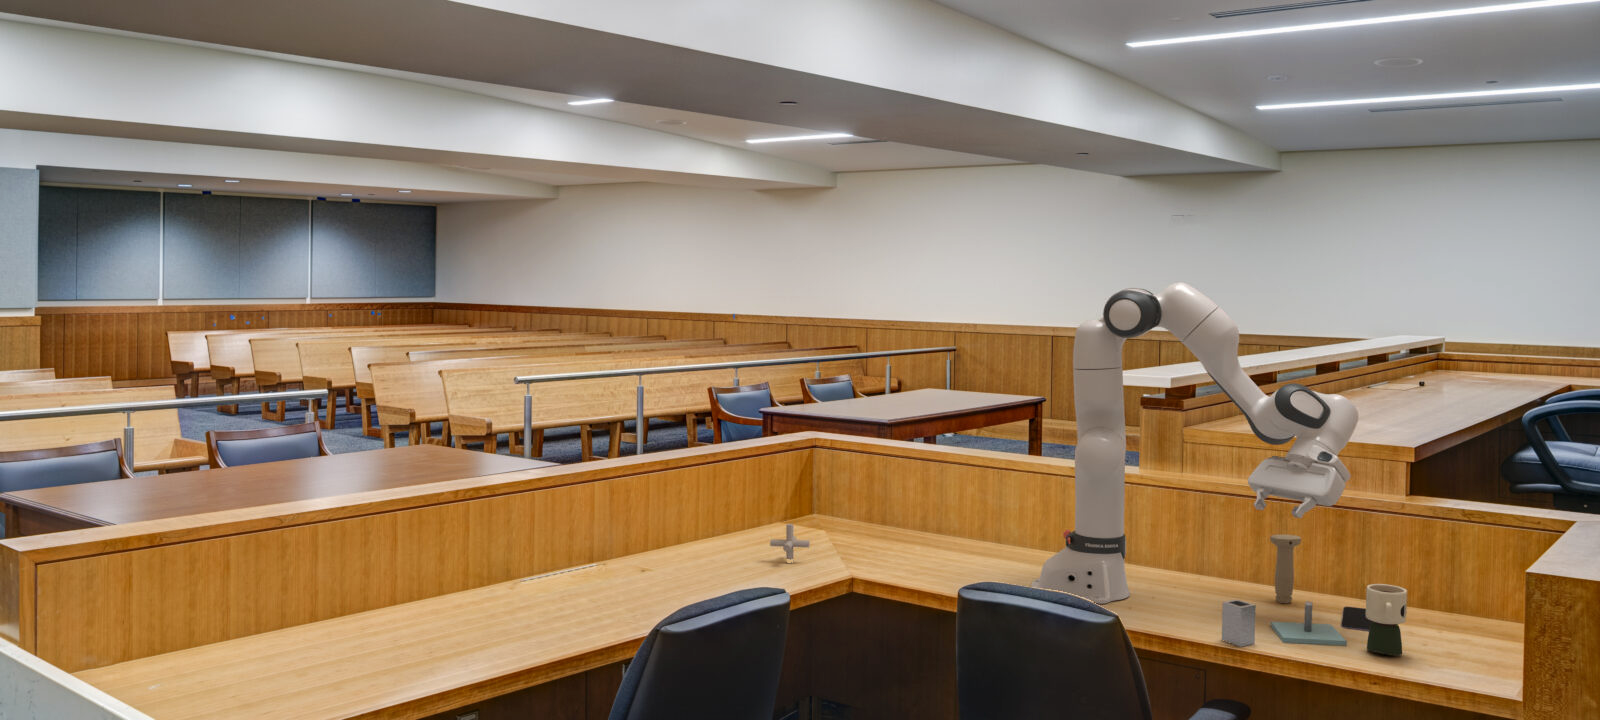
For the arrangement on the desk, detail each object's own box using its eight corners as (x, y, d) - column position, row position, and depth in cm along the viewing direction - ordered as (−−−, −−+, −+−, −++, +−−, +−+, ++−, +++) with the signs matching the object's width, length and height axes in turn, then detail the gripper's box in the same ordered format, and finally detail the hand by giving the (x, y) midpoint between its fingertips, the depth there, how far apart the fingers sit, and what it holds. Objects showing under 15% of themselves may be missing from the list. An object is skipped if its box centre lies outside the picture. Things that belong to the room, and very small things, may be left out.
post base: (1283, 642, 232) (1284, 608, 232) (1270, 626, 243) (1271, 593, 242) (1346, 645, 230) (1347, 611, 229) (1331, 629, 241) (1332, 596, 240)
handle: (1302, 604, 259) (1304, 539, 257) (1274, 605, 258) (1276, 539, 257) (1292, 598, 263) (1294, 534, 262) (1264, 599, 263) (1266, 534, 262)
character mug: (1408, 664, 219) (1410, 597, 218) (1366, 659, 222) (1369, 593, 221) (1401, 647, 229) (1403, 583, 228) (1361, 642, 232) (1364, 579, 231)
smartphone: (1340, 626, 242) (1343, 606, 255) (1340, 631, 242) (1343, 610, 255) (1379, 631, 238) (1380, 610, 252) (1379, 636, 239) (1380, 615, 252)
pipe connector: (806, 568, 290) (806, 529, 289) (767, 566, 292) (767, 528, 291) (811, 558, 300) (811, 521, 299) (774, 557, 301) (774, 519, 301)
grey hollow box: (1236, 637, 235) (1237, 599, 235) (1254, 643, 231) (1255, 605, 230) (1221, 640, 233) (1222, 602, 233) (1239, 647, 229) (1241, 607, 228)
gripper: (1261, 445, 251) (1229, 494, 247) (1344, 458, 233) (1311, 510, 229) (1274, 464, 254) (1243, 512, 250) (1358, 477, 236) (1325, 530, 232)
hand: (1276, 511), depth 239 cm, fingers open, 8 cm apart
